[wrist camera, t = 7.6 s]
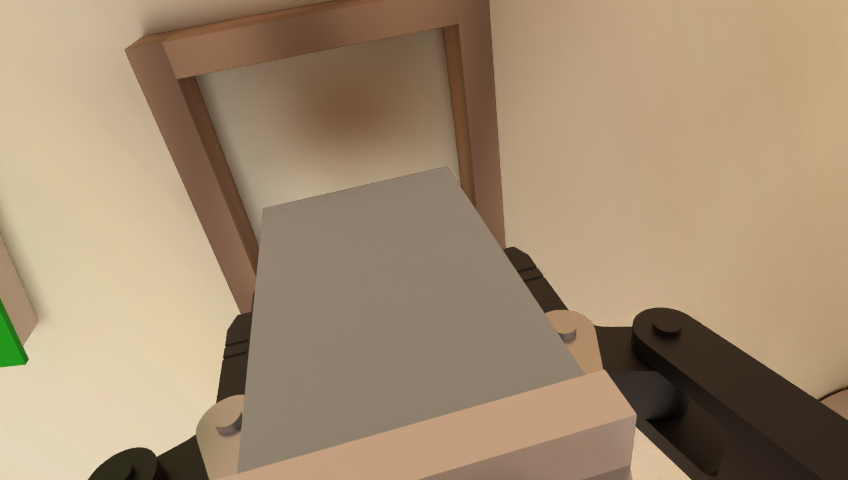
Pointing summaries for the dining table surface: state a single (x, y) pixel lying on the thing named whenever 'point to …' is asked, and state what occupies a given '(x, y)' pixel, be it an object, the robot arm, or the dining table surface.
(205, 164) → the brown flat rectangular frame
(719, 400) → the robot arm
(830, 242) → the dining table surface
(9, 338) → the book
